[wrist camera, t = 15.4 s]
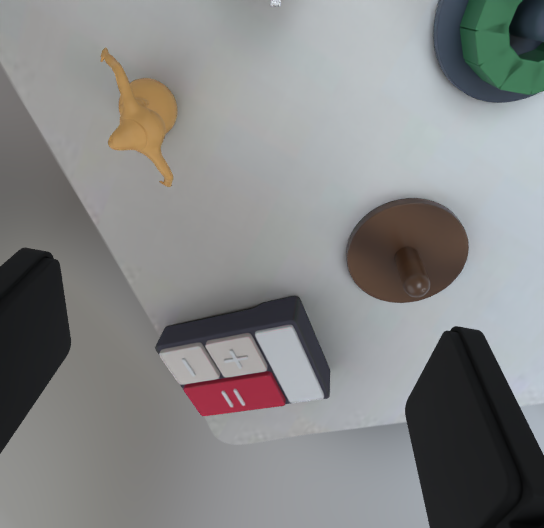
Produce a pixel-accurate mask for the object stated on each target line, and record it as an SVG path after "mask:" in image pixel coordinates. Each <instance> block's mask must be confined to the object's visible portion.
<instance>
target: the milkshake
mask: <svg viewBox="0 0 544 528" xmlns="http://www.w3.org/2000/svg"><path fill="white" fill-rule="evenodd" d="M280 5H281V0H271V2H270V6H271V7H278V6H280Z"/></svg>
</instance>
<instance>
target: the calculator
mask: <svg viewBox="0 0 544 528" xmlns="http://www.w3.org/2000/svg"><path fill="white" fill-rule="evenodd" d="M155 349H156V351H157V352H158V354H159V356H160V357H161V359H162V360H163V362H164V363H165V364H166V366H167V367H168V369H169V370H170V371H171V373H172V375H173V376H174V377H175V379H176V380H177V382H178V383H179V384H180V385H181V387H182V388H183V390H184V392H185V393H186V395H187V396H188V397H189V399H190V400H191V401H192V403H193V405H194V406H195V407H196V409H197V410H198V412H199V413H200V414H201V415H202V416H209V415H217V414H225V413H232V412H240V411H247V410H255V409H263V408H270V407H278V406H284V405H285V404H290V403H298V402H305V401H313V400H320V399H327V398H329V395H330V369H329V366H328V364H327V362H326V359H325V357H324V355H323V352H322V350H321V347H320V345H319V343H318V340H317V338H316V336H315V333H314V331H313V328H312V326H311V324H310V321H309V319H308V317H307V314H306V312H305V310H304V307H303V305H302V302H301V300H300V298H299V297H297V296H293V297H288V298H283V299H279V300H274V301H269V302H265V303H262V304H260V305H258V306H257V307H255V308H253V309H249V310H244V311H240V312H235V313H230V314H226V315H221V316H216V317H211V318H207V319H202V320H197V321H192V322H188V323H183V324H178V325H174V326H169V327H166V328H165V329H164V331H163V333H162V335H161V337H160V339H159V341H158V343H157V345H156V347H155Z"/></svg>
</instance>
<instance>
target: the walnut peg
mask: <svg viewBox="0 0 544 528" xmlns="http://www.w3.org/2000/svg"><path fill="white" fill-rule="evenodd" d="M468 248H469V246H468V238H467V234H466V232H465V229H464V227H463V226H462V224H461V223H460V221H459V220H458V218H457V217H456V216H455V215H454V214H453V212H451V211H450V210H449V209H448V208H446V207H444V206H443V205H441V204H439V203H436V202H434V201H430V200H426V199H418V198H408V199H400V200H396V201H392V202H389V203H386V204H384V205H382V206H379V207H377V208H376V209H374V210H373V211H371V212H370V213H368V214H367V215H366V216H365V217H364V218H363V219H362V220H361V221H360V222H359V223H358V224H357V226H356V227H355V228H354V230H353V232H352V234H351V236H350V238H349V241H348V245H347V263H348V268H349V272H350V274H351V277H352V278H353V280H354V281H355V283H356V284H357V285H358V286H359V287H360V288H361V289H362V290H363V291H364V292H366V293H367V294H369V295H371V296H373V297H375V298H377V299H380V300H383V301H388V302H395V303H406V302H414V301H419V300H422V299H425V298H428V297H431V296H433V295H435V294H437V293H439V292H440V291H442V290H443V289H445V288H446V287H447V286H449V285H450V284H451V283H452V282H453V281H454V280H455V279H456V278H457V276H458V275H459V274H460V272H461V271H462V269H463V267H464V265H465V262H466V260H467V256H468Z"/></svg>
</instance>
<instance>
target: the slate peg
mask: <svg viewBox="0 0 544 528" xmlns="http://www.w3.org/2000/svg"><path fill="white" fill-rule="evenodd" d="M468 1H469V0H439V4H438V7H437V11H436V15H435V22H434V48H435V52H436V57H437V60H438V62H439V65H440V67H441V69H442V71H443V72H444V74H445V76H446V77H447V78H448V79H449V81H450V82H451V83H452V84H453V85H454V86H455V87H457V88H458V89H459V90H461V91H463V92H464V93H466V94H467V95H469V96H471V97H473V98H476V99H479V100H482V101H487V102H511V101H517V100H521V99H524V98H527V97H530V96H533V95H535V94H533V95H531V94H530V95H526V94H521V93H515V92H510V91H505V90H500V89H498V88H496V87H494V86H492V85H490V84H488V83H487V82H485V81H483V80H481V79H480V77H479V76H478V75H477V74H476V73H475V72H474V71H473V70H472V69H471V67H470V66H469V65H468V64H467V63H466V62H465V59H464V58H463V51H462V43H461V35H460V28H461V26H460V24H461V21H462V18H463V15H464V12H465V10H466V7H467V4H468ZM509 37H510V46H511V47H512V49H513V50H514V51H515V52H516V53H517V55H520V54H523V53H526V52H529V51H532V50H534V49H536V48H537V47H538V46H539V45H540V44H541V43H543V42H544V0H523V1H522V2H521V3H520V4H519V5H518V6H517V9H516V11H515V14H514V16H513V18H512V21H511V23H510V26H509ZM536 94H537V93H536Z"/></svg>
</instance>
